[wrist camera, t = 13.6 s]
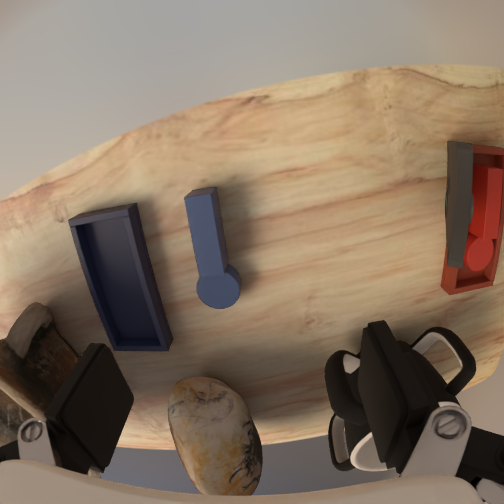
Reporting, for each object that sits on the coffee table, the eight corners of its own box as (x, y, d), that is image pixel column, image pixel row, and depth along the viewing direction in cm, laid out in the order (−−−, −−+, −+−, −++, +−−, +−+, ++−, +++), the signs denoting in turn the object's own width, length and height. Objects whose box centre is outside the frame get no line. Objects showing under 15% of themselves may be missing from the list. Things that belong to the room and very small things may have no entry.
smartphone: (476, 144, 12) (458, 142, 23) (455, 141, 12) (446, 141, 24) (464, 276, 14) (455, 215, 26) (444, 273, 15) (444, 213, 26)
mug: (312, 414, 37) (321, 489, 25) (317, 320, 31) (339, 410, 20) (419, 395, 36) (447, 458, 25) (449, 303, 30) (503, 368, 19)
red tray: (449, 143, 23) (461, 145, 21) (495, 146, 23) (507, 149, 21) (440, 286, 29) (449, 295, 27) (483, 277, 28) (492, 285, 26)
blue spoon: (182, 191, 26) (173, 199, 23) (226, 185, 26) (222, 191, 23) (204, 300, 30) (198, 317, 27) (243, 297, 30) (242, 314, 27)
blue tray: (78, 214, 27) (67, 220, 25) (136, 202, 27) (127, 208, 25) (120, 339, 33) (113, 350, 31) (173, 339, 32) (168, 351, 30)
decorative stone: (168, 355, 33) (130, 463, 19) (240, 342, 32) (229, 463, 18) (221, 437, 39) (211, 523, 25) (279, 430, 38) (282, 521, 24)
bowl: (38, 407, 41) (6, 462, 27) (-31, 286, 32) (-88, 335, 18) (158, 426, 39) (134, 508, 25) (83, 270, 29) (-1, 354, 16)
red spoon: (464, 163, 23) (481, 168, 21) (490, 164, 23) (508, 169, 20) (456, 266, 27) (470, 278, 25) (481, 262, 27) (496, 273, 24)
